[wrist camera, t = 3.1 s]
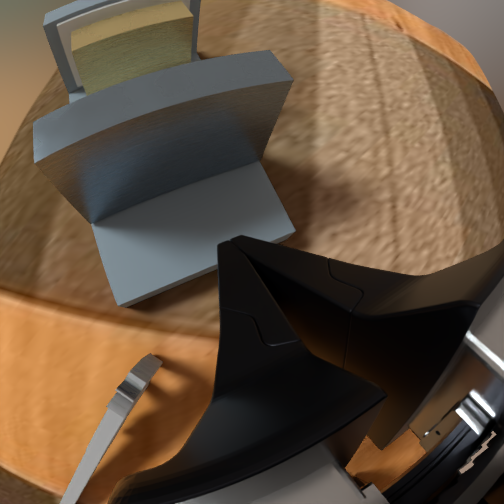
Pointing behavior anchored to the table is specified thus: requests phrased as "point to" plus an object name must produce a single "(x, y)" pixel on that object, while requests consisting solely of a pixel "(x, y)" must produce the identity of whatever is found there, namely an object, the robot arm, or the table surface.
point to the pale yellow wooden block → (132, 45)
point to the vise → (173, 202)
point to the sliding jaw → (161, 131)
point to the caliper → (112, 423)
